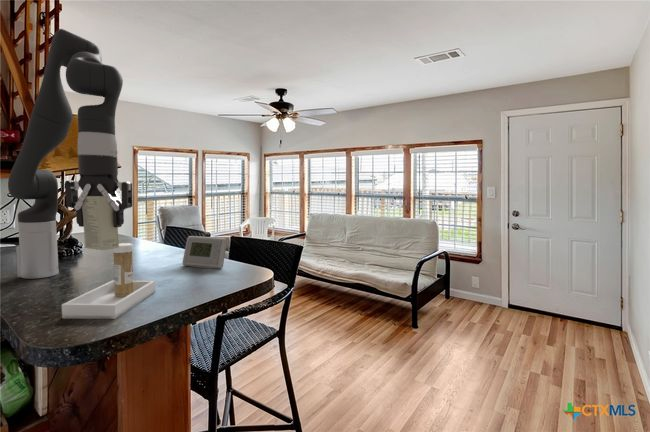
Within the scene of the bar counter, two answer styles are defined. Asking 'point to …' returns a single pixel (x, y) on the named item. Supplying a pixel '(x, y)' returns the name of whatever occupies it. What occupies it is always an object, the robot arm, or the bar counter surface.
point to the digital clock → (204, 252)
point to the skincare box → (99, 224)
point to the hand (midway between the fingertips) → (100, 226)
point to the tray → (106, 301)
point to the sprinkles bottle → (123, 270)
